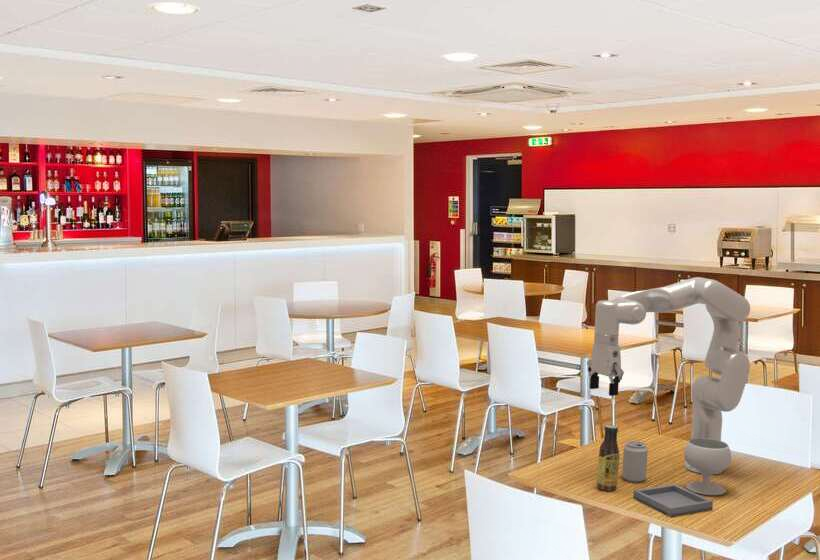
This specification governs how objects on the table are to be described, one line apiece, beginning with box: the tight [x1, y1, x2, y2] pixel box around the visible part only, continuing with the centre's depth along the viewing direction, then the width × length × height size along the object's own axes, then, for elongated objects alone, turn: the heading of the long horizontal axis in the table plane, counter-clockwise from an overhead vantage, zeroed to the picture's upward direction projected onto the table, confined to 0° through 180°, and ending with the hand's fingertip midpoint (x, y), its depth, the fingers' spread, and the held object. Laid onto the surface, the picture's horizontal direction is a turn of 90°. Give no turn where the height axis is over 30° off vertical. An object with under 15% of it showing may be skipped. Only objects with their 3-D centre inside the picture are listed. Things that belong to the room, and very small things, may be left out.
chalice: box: [683, 438, 732, 496], centre depth 270 cm, size 14×14×15 cm
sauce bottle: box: [596, 424, 621, 492], centre depth 268 cm, size 6×6×20 cm
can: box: [621, 440, 649, 483], centre depth 278 cm, size 8×8×12 cm
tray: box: [632, 483, 714, 518], centre depth 257 cm, size 16×16×2 cm
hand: (603, 391), depth 277 cm, fingers open, 9 cm apart
